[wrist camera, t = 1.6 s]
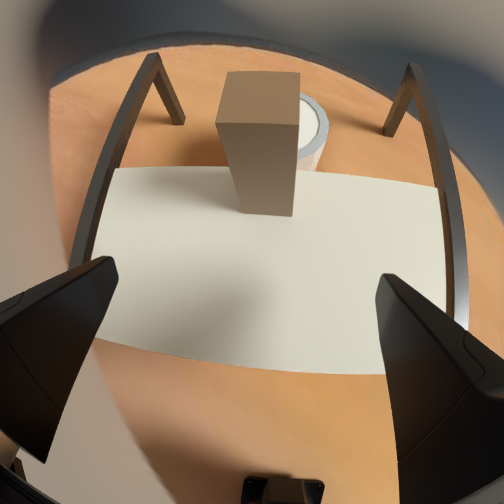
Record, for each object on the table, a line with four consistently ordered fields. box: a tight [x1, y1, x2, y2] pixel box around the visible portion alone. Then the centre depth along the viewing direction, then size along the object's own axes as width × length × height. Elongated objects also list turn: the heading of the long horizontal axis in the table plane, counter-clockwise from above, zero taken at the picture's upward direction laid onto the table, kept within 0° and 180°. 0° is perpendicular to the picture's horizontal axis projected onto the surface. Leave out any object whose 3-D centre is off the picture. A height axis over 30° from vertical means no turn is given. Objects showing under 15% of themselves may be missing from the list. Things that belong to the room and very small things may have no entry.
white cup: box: [296, 93, 329, 171], centre depth 22 cm, size 7×7×7 cm
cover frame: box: [68, 52, 469, 331], centre depth 19 cm, size 22×22×9 cm
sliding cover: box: [91, 71, 446, 374], centre depth 11 cm, size 10×19×8 cm, turn 84°
